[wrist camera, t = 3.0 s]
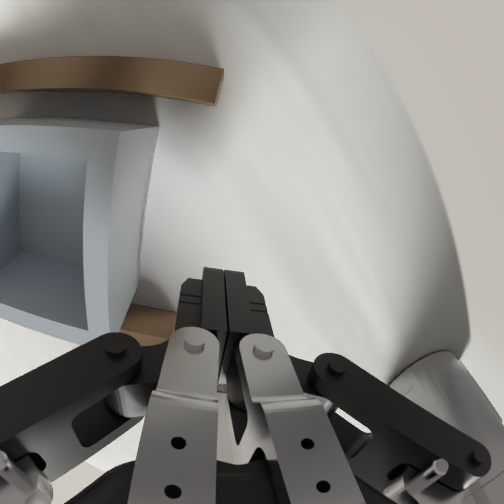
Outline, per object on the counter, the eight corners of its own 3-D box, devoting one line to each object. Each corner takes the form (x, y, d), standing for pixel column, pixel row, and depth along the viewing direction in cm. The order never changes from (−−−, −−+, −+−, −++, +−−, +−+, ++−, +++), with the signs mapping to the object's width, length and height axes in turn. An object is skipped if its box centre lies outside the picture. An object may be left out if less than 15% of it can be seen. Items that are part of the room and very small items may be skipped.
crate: (160, 126, 13) (119, 131, 8) (139, 282, 17) (111, 352, 11) (21, 116, 11) (-49, 127, 6) (20, 255, 15) (-30, 304, 10)
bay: (223, 77, 12) (223, 68, 10) (174, 330, 18) (169, 357, 16) (-58, 84, 8) (-80, 86, 6) (-55, 264, 14) (-71, 278, 12)
